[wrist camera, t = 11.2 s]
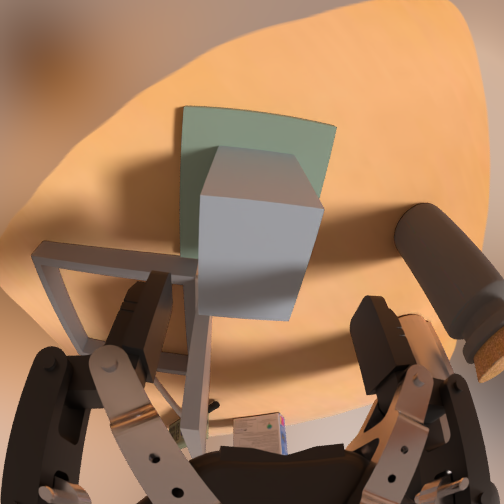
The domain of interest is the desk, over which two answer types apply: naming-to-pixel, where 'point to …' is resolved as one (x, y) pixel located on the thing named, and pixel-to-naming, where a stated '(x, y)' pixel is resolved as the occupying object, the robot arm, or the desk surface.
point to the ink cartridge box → (261, 433)
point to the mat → (243, 136)
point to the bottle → (456, 284)
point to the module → (254, 234)
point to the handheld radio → (176, 431)
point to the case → (191, 365)
